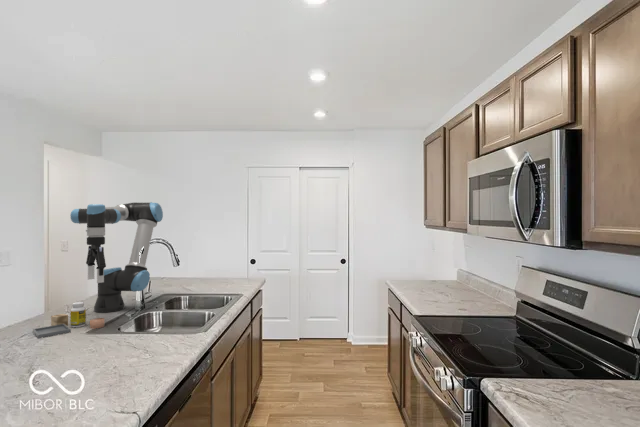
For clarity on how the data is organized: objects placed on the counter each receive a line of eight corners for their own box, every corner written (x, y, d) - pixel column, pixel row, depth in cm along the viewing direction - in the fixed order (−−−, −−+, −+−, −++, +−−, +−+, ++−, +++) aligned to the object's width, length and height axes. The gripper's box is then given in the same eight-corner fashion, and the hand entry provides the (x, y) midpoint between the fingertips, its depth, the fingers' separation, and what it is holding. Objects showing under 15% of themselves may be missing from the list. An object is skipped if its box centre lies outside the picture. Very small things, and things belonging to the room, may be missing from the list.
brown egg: (102, 324, 182) (102, 317, 182) (106, 327, 178) (106, 319, 178) (88, 327, 178) (88, 319, 178) (91, 329, 174) (92, 322, 174)
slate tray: (64, 326, 177) (64, 323, 177) (70, 332, 169) (70, 329, 169) (32, 332, 169) (32, 329, 169) (38, 338, 160) (38, 335, 160)
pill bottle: (80, 328, 176) (80, 304, 176) (67, 327, 176) (67, 304, 176) (88, 324, 182) (88, 301, 182) (76, 324, 182) (76, 301, 182)
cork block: (62, 323, 183) (62, 313, 183) (68, 325, 180) (68, 314, 181) (51, 326, 178) (51, 315, 179) (56, 327, 176) (56, 317, 176)
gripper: (79, 235, 184) (78, 278, 184) (95, 237, 167) (95, 285, 167) (96, 235, 189) (95, 276, 189) (113, 237, 173) (113, 283, 172)
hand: (95, 280), depth 178 cm, fingers open, 13 cm apart
